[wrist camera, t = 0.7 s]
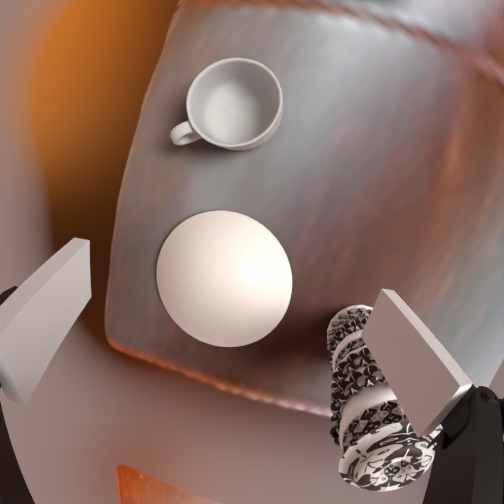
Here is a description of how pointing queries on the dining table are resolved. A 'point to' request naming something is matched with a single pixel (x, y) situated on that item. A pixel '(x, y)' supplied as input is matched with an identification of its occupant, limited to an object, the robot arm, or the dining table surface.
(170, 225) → the dining table surface
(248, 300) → the candle plate
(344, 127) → the dining table surface
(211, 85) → the teacup
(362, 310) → the decorative candle
